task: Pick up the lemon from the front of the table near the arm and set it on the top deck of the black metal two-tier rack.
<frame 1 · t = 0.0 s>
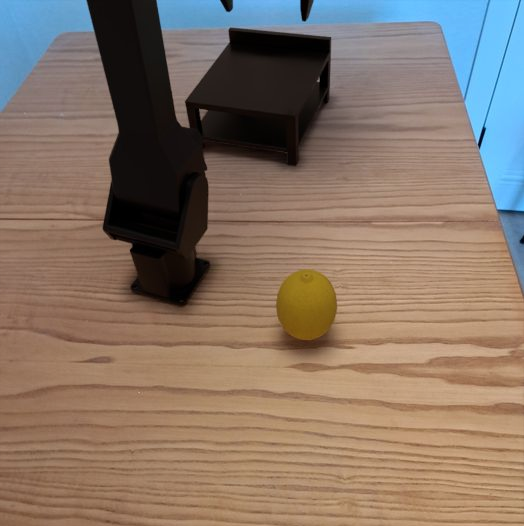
hand: (266, 15, 64), 15 cm above the table, tool pointing down, fingers open, 9 cm apart
lemon: (306, 334, 56), on the table
rack: (263, 123, 78), on the table
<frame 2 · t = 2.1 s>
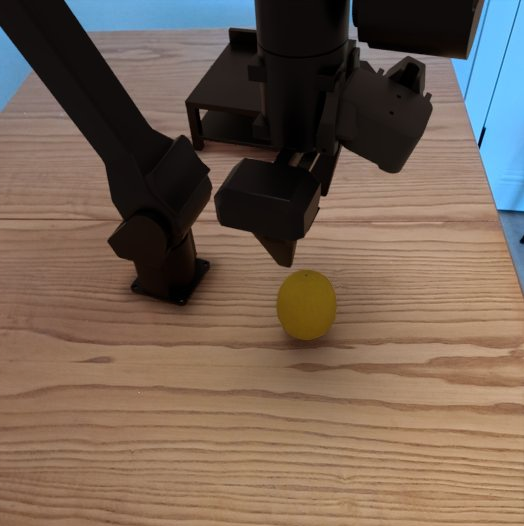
hand: (304, 228, 48), 11 cm above the table, tool pointing down, fingers open, 9 cm apart
nothing on the table moved.
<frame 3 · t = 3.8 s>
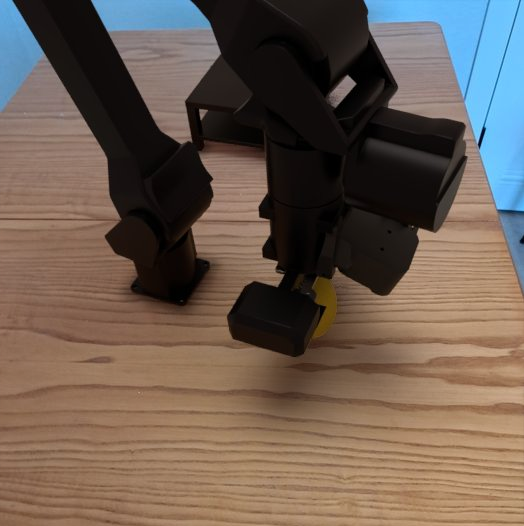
hand: (306, 321, 54), 2 cm above the table, tool pointing down, fingers closed on lemon, 5 cm apart
lemon: (306, 334, 56), on the table, touching gripper
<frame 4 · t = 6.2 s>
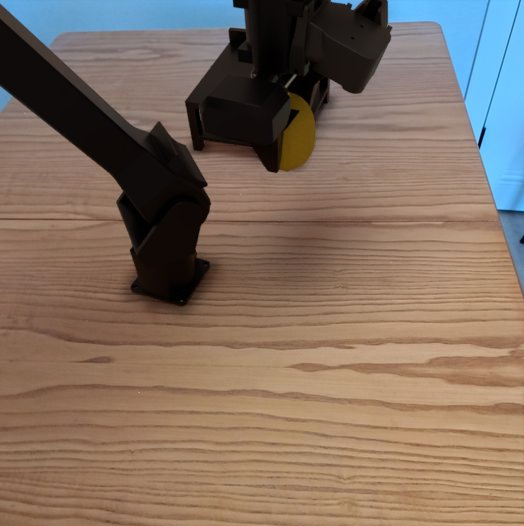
hand: (285, 154, 55), 11 cm above the table, tool pointing down, fingers closed on lemon, 5 cm apart
lemon: (287, 172, 56), point 9 cm above the table, touching gripper
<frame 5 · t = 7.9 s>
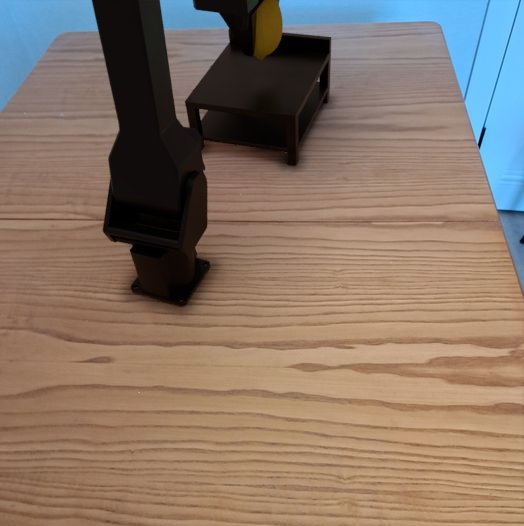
hand: (259, 44, 69), 11 cm above the table, tool pointing down, fingers closed on lemon, 5 cm apart
lemon: (261, 60, 71), point 9 cm above the table, touching gripper
when the fingers open (9 cm above the table, at t = 9.0 s): lemon stays where it is, resting on rack.
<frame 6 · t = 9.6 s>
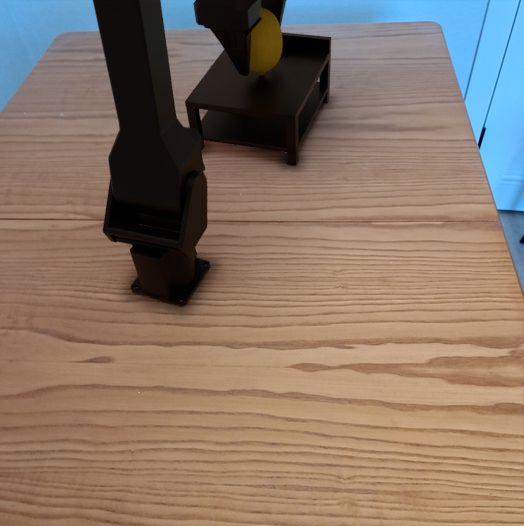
hand: (259, 56, 70), 9 cm above the table, tool pointing down, fingers open, 9 cm apart
lemon: (261, 76, 72), point 7 cm above the table, touching rack
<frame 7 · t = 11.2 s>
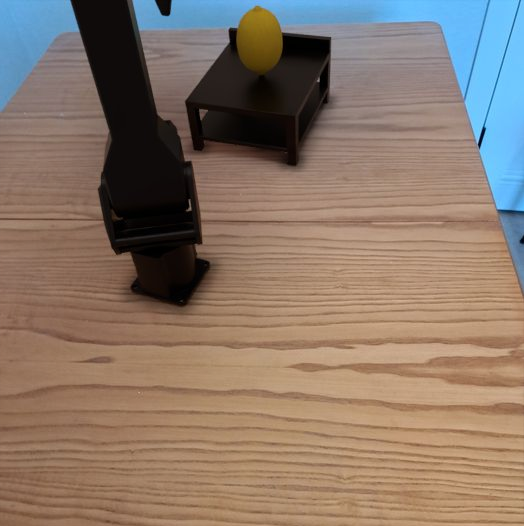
hand: (146, 32, 67), 13 cm above the table, tool pointing down, fingers open, 9 cm apart
nothing on the table moved.
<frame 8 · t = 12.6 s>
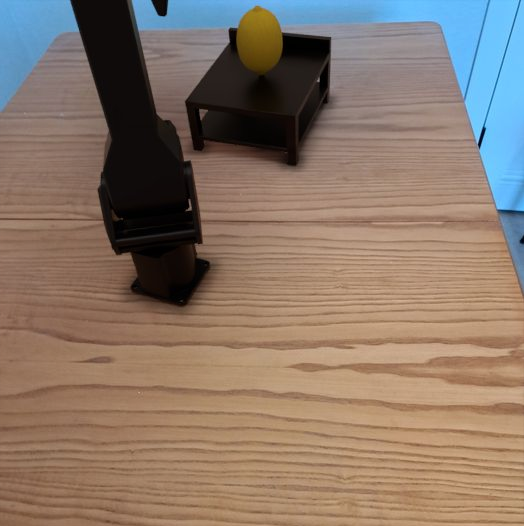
hand: (143, 33, 67), 13 cm above the table, tool pointing down, fingers open, 9 cm apart
nothing on the table moved.
at the end: lemon inside the target area on the rack (0.2 cm from its centre), point 6.6 cm above the rack's base; the gripper is holding nothing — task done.
